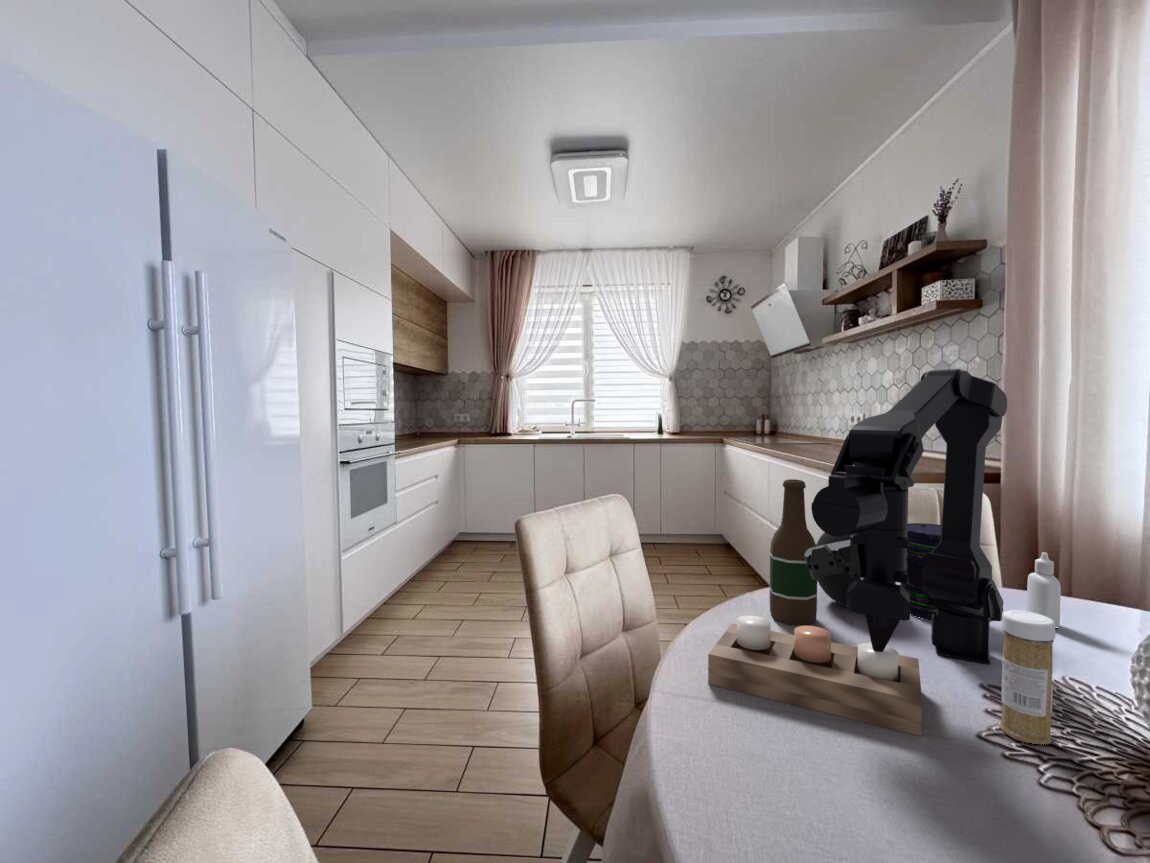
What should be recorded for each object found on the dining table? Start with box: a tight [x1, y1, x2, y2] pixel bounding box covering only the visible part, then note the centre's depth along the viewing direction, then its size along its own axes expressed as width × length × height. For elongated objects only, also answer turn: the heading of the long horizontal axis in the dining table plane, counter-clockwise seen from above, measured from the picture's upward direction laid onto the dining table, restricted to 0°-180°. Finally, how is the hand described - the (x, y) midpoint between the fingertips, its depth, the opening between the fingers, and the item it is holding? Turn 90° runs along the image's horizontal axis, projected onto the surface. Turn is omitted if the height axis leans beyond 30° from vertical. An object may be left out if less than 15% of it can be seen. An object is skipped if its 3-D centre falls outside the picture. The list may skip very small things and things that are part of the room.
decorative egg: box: [815, 531, 861, 606], centre depth 103 cm, size 12×12×15 cm
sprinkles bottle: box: [999, 610, 1056, 746], centre depth 62 cm, size 5×5×14 cm
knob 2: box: [857, 642, 899, 682], centre depth 69 cm, size 4×4×3 cm
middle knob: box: [793, 625, 832, 662], centre depth 73 cm, size 4×4×3 cm
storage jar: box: [899, 522, 942, 621], centre depth 99 cm, size 10×10×15 cm
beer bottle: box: [769, 478, 818, 626], centre depth 96 cm, size 8×8×24 cm
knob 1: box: [736, 615, 772, 650], centre depth 77 cm, size 4×4×3 cm
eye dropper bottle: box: [1026, 551, 1062, 628], centre depth 94 cm, size 4×6×12 cm
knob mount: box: [707, 623, 923, 737], centre depth 73 cm, size 24×12×4 cm, turn 60°
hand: (877, 650), depth 69 cm, fingers closed, pressing on knob 2
